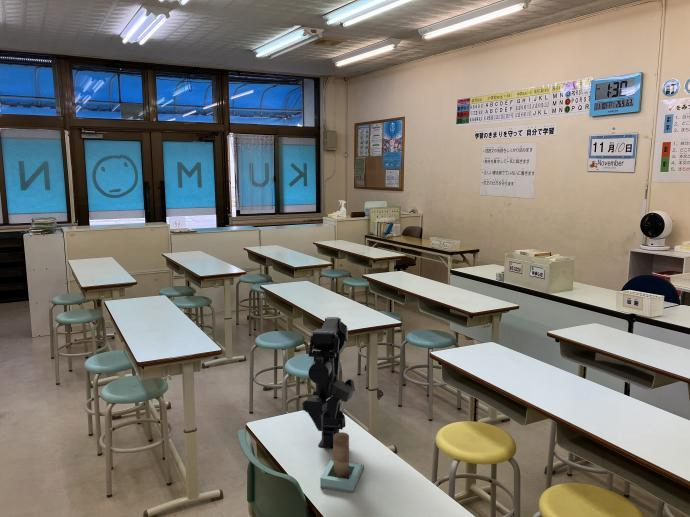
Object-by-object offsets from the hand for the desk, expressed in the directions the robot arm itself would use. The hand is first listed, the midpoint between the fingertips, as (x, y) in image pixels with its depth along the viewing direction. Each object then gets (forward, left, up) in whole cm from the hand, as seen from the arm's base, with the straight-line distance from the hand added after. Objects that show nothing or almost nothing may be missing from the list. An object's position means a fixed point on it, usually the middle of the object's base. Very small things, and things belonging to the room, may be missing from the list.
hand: (327, 424), depth 158 cm
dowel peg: (+6, +6, -13) cm, 15 cm away
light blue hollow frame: (+4, +6, -13) cm, 15 cm away
